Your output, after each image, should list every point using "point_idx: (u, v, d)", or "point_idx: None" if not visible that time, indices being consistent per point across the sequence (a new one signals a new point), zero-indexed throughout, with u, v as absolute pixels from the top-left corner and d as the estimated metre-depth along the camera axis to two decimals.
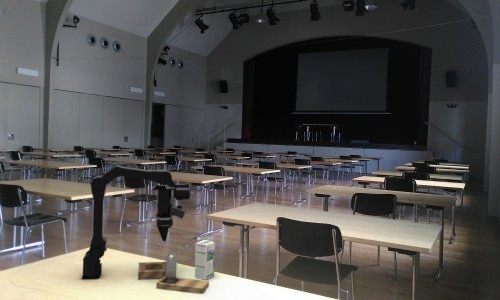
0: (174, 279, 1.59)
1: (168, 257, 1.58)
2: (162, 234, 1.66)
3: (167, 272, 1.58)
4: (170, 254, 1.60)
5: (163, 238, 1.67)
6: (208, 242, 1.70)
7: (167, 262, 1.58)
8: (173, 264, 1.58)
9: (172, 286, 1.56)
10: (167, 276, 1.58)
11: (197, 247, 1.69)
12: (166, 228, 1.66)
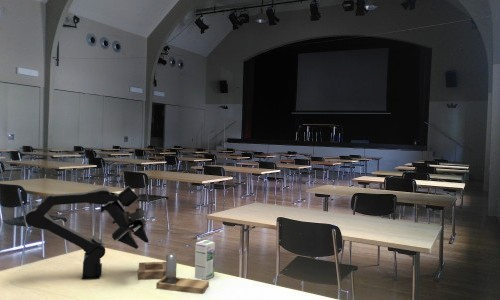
0: (174, 279, 1.59)
1: (168, 257, 1.58)
2: (130, 243, 1.61)
3: (167, 272, 1.58)
4: (170, 254, 1.60)
5: (134, 246, 1.61)
6: (208, 242, 1.70)
7: (167, 262, 1.58)
8: (173, 264, 1.58)
9: (172, 286, 1.56)
10: (167, 276, 1.58)
11: (197, 247, 1.69)
12: (128, 236, 1.60)
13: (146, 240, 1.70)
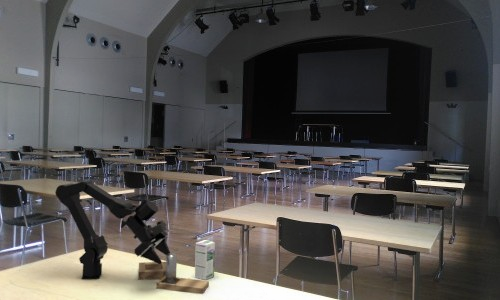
0: (174, 279, 1.59)
1: (168, 257, 1.58)
2: (153, 259, 1.55)
3: (167, 272, 1.58)
4: (170, 254, 1.60)
5: (157, 261, 1.55)
6: (208, 242, 1.70)
7: (167, 262, 1.58)
8: (173, 264, 1.58)
9: (172, 286, 1.56)
10: (167, 276, 1.58)
11: (197, 247, 1.69)
12: (151, 251, 1.54)
13: None
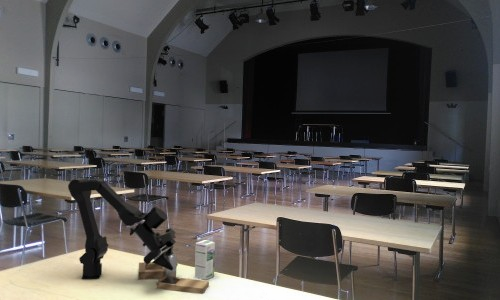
0: (174, 279, 1.59)
1: (168, 257, 1.58)
2: (164, 265, 1.57)
3: (167, 272, 1.58)
4: (170, 254, 1.60)
5: (169, 268, 1.57)
6: (208, 242, 1.70)
7: None
8: (173, 264, 1.58)
9: (172, 286, 1.56)
10: (167, 276, 1.58)
11: (197, 247, 1.69)
12: (163, 258, 1.56)
13: None
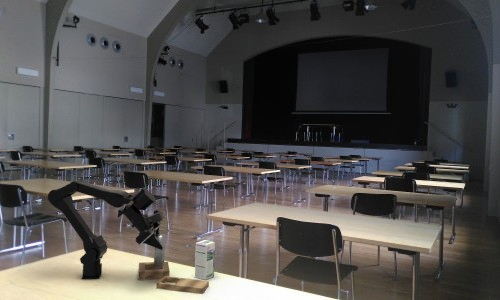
0: (163, 258, 1.64)
1: (158, 237, 1.62)
2: (154, 245, 1.61)
3: (156, 252, 1.62)
4: (159, 234, 1.64)
5: (159, 247, 1.62)
6: (208, 242, 1.70)
7: None
8: (163, 244, 1.63)
9: (172, 286, 1.56)
10: (156, 255, 1.62)
11: (197, 247, 1.69)
12: (153, 238, 1.60)
13: None
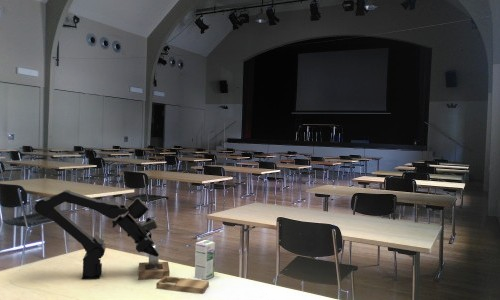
0: (157, 267, 1.72)
1: None
2: (151, 252, 1.67)
3: (152, 261, 1.70)
4: (152, 244, 1.72)
5: (155, 254, 1.68)
6: (208, 242, 1.70)
7: None
8: None
9: (172, 286, 1.56)
10: (152, 265, 1.70)
11: (197, 247, 1.69)
12: (150, 246, 1.66)
13: None
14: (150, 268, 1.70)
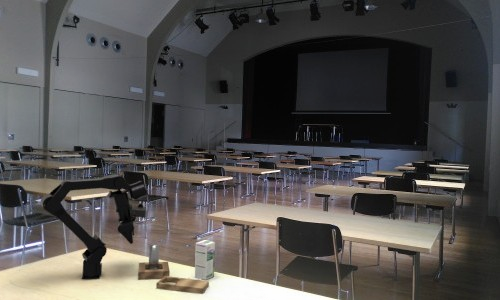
0: (158, 267, 1.72)
1: (153, 247, 1.70)
2: (127, 238, 1.68)
3: (152, 261, 1.70)
4: (153, 244, 1.72)
5: (130, 241, 1.69)
6: (208, 242, 1.70)
7: (152, 252, 1.70)
8: (157, 253, 1.71)
9: (172, 286, 1.56)
10: (152, 265, 1.70)
11: (197, 247, 1.69)
12: (130, 231, 1.68)
13: (132, 233, 1.79)
14: (150, 268, 1.70)
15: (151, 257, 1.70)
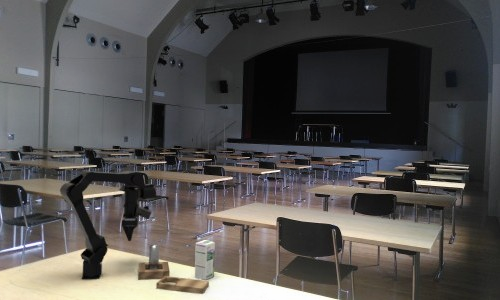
0: (158, 267, 1.72)
1: (153, 247, 1.70)
2: (127, 234, 1.71)
3: (152, 261, 1.70)
4: (153, 244, 1.72)
5: (128, 238, 1.72)
6: (208, 242, 1.70)
7: (152, 252, 1.70)
8: (157, 253, 1.71)
9: (172, 286, 1.56)
10: (152, 265, 1.70)
11: (197, 247, 1.69)
12: (131, 228, 1.71)
13: None
14: (150, 268, 1.70)
15: (151, 257, 1.70)
